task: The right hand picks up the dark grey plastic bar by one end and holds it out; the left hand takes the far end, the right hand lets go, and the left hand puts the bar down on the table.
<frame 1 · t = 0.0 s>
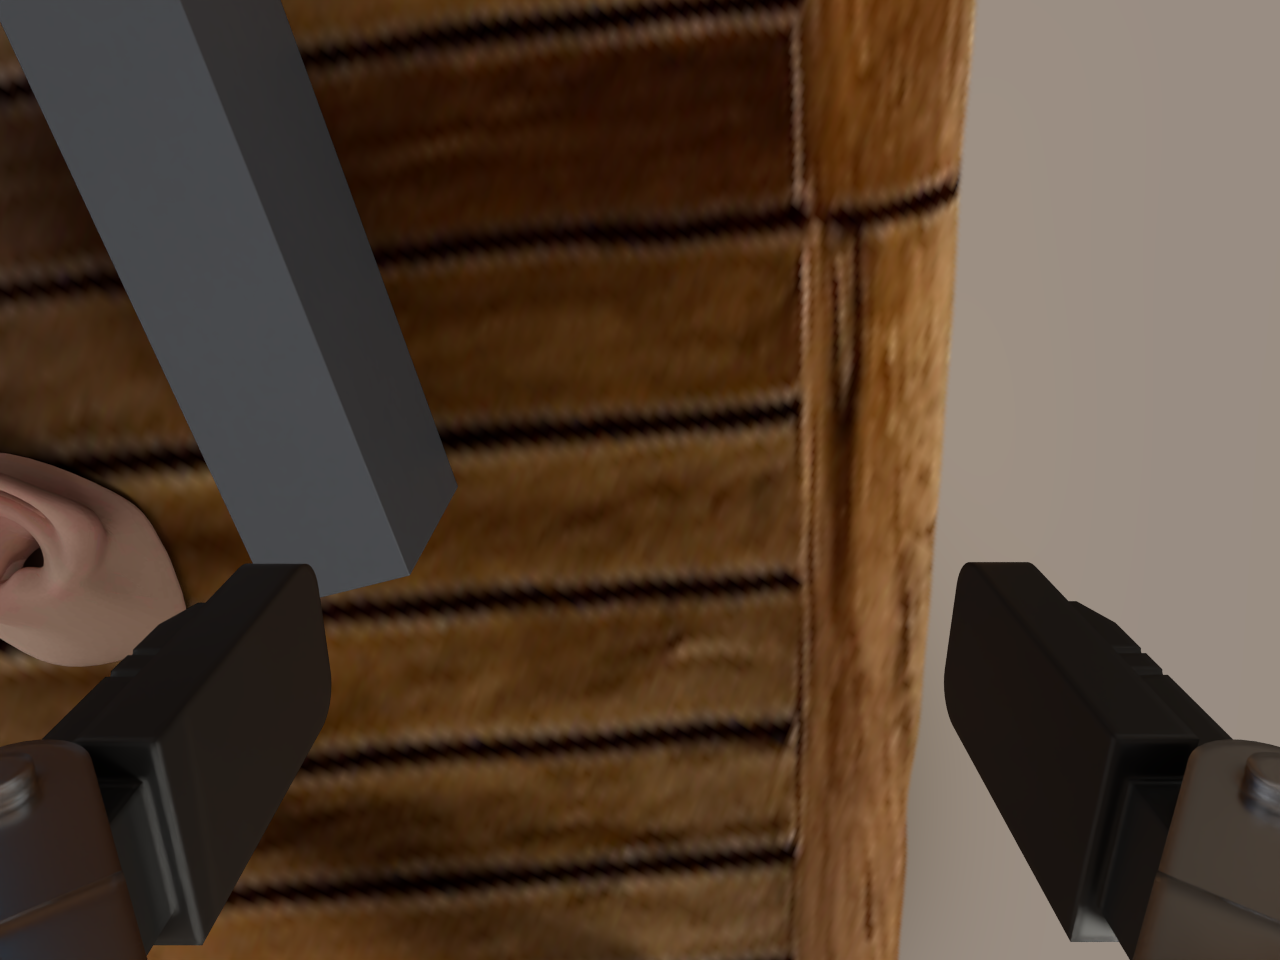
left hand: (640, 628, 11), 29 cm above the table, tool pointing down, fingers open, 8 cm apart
anatomical model: (48, 557, 43), on the table
bar: (303, 242, 38), on the table
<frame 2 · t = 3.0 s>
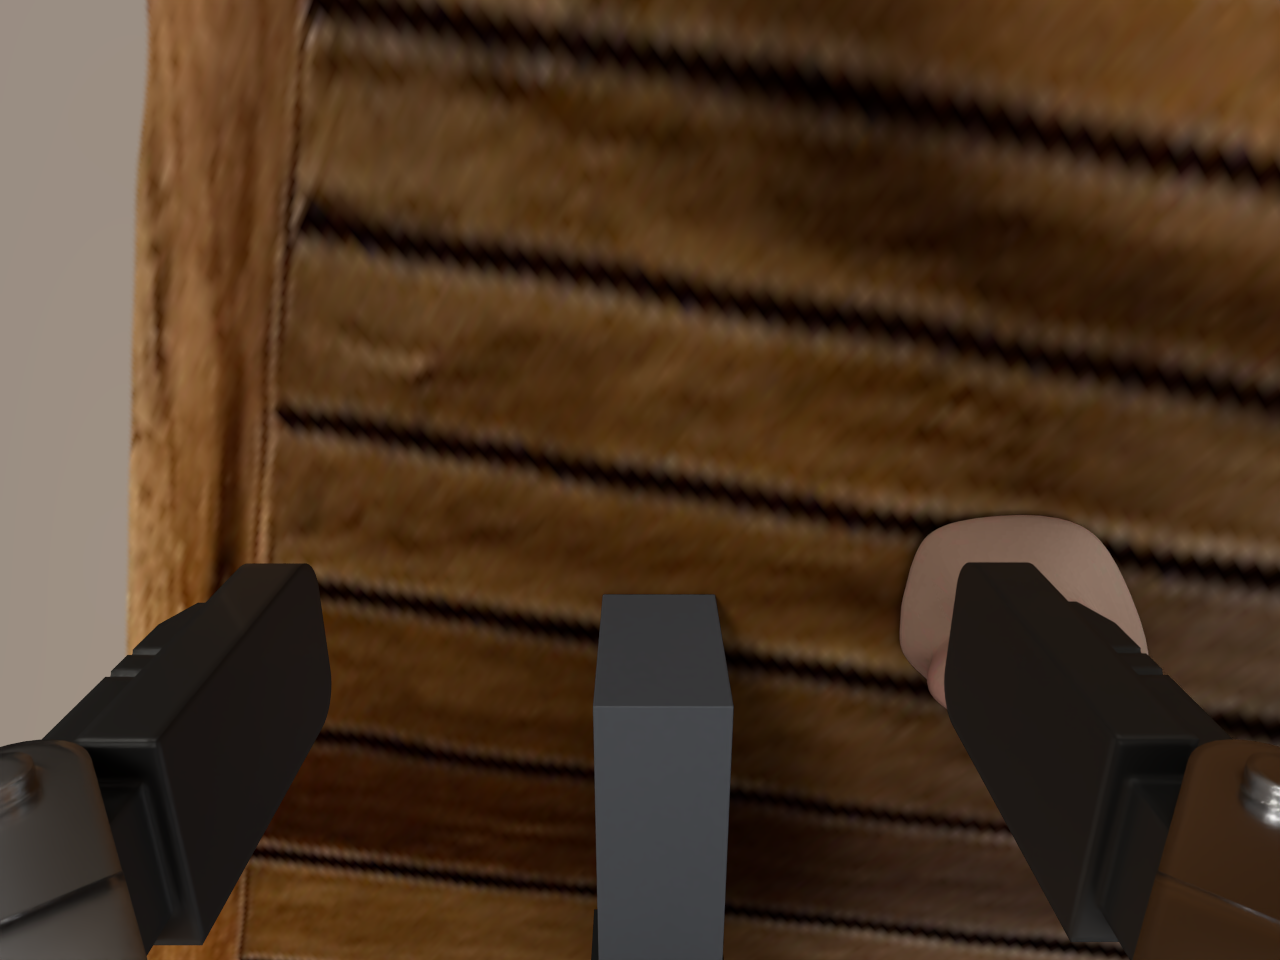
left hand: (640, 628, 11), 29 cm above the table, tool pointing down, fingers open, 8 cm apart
anatomical model: (1016, 624, 44), on the table
bar: (657, 798, 47), on the table, touching right hand
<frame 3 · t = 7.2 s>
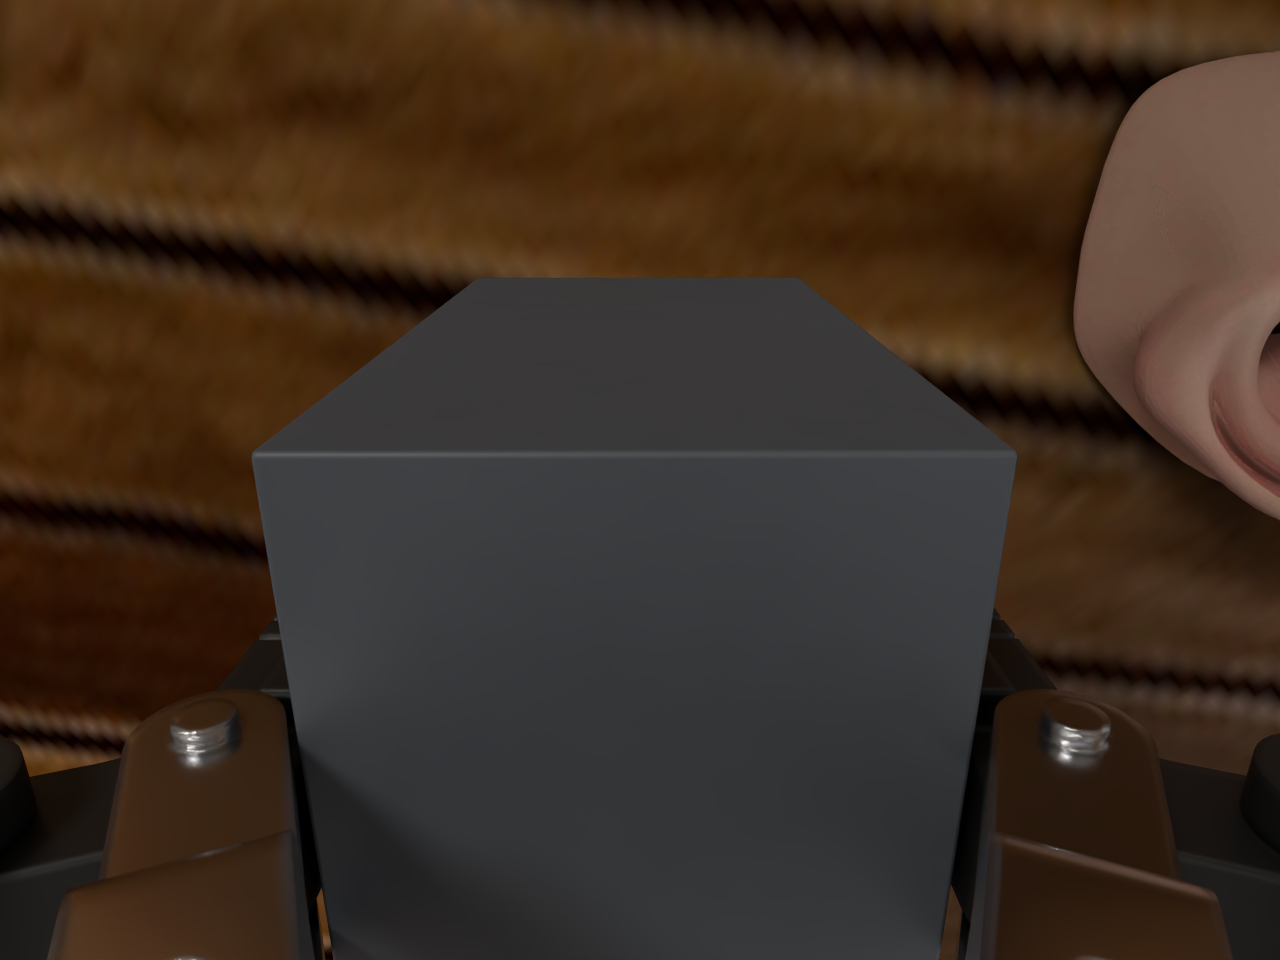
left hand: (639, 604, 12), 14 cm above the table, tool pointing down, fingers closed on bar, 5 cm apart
bar: (639, 851, 19), point 9 cm above the table, touching left hand, right hand
when the right hand's fingers open (10 cm above the table, at t = 8.2 s): bar stays where it is, held by the left hand.
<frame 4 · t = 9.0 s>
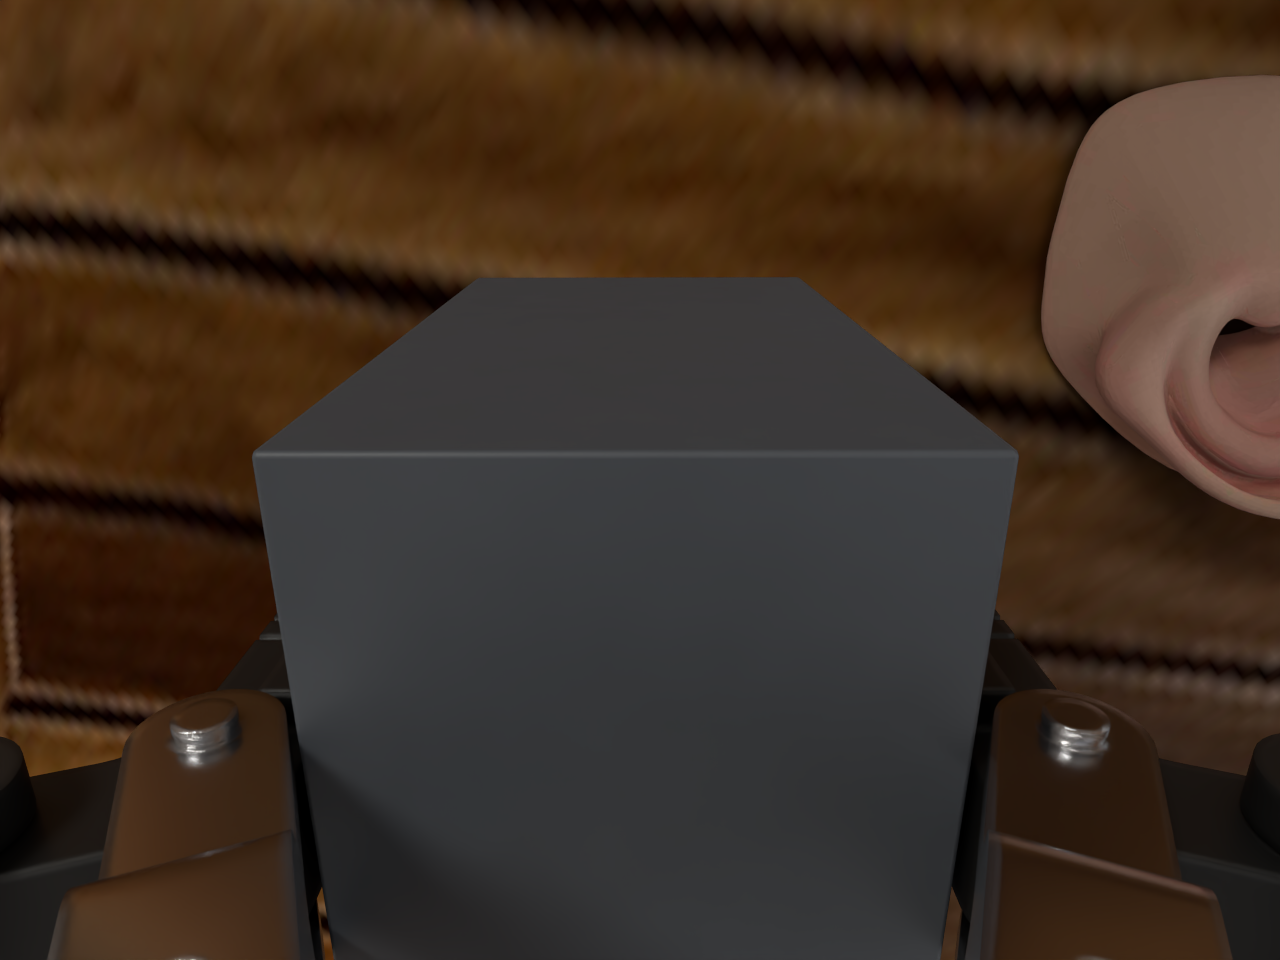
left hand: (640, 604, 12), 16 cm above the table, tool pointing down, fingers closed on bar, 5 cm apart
anatomical model: (1233, 296, 26), on the table
bar: (639, 851, 19), point 11 cm above the table, touching left hand
when the left hand's fingers open (6 cm above the table, at t = 14.2 s): bar drops 1 cm, on the table.
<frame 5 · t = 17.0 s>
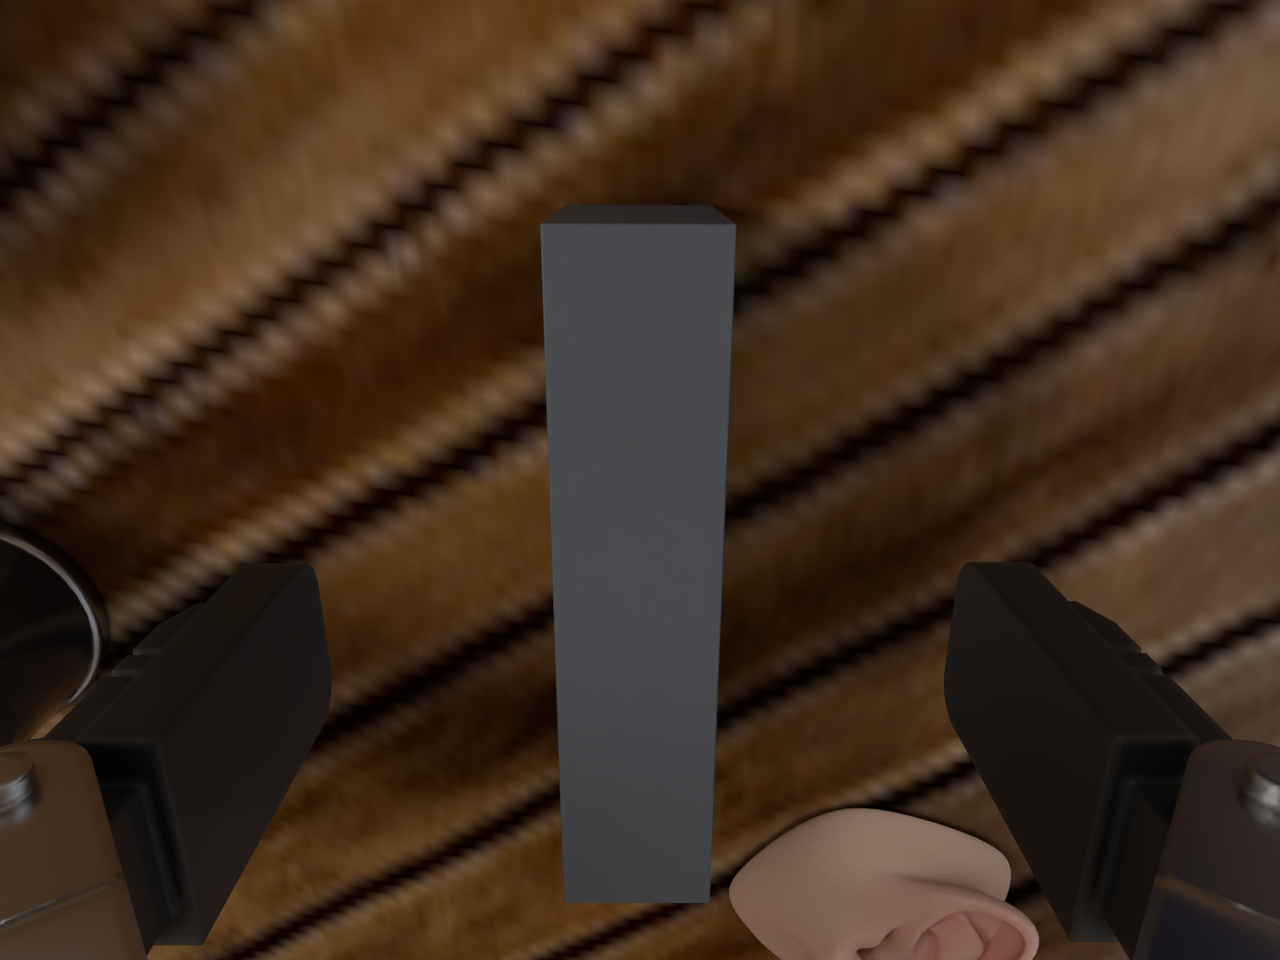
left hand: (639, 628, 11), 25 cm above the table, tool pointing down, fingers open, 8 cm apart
anatomical model: (866, 892, 45), on the table
bar: (638, 506, 38), on the table
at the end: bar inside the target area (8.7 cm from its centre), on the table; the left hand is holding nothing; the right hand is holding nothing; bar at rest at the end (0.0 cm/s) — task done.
